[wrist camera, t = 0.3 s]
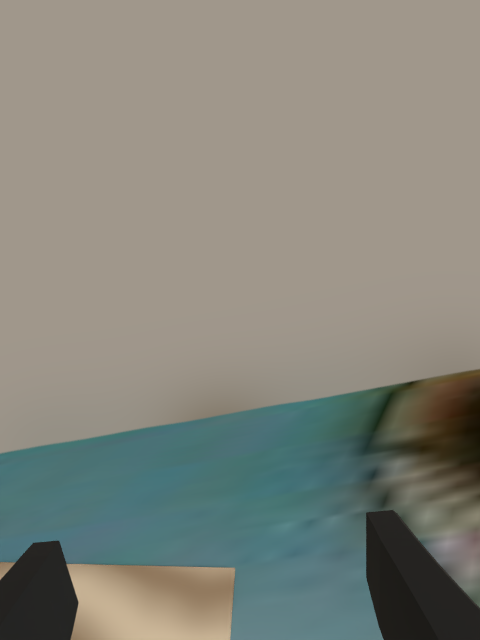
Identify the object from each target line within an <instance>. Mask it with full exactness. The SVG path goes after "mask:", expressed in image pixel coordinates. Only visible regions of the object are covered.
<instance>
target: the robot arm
mask: <svg viewBox="0 0 480 640" xmlns="http://www.w3.org/2000/svg"><path fill="white" fill-rule="evenodd" d="M366 578H367V582H368V586H369V590H370V594H371V598H372V601H373V605H374V609H375V613H376V617H377V620H378V624H379V628H380V630H381V633H382V636H383V639H384V640H480V608H479V607H478V606H477V605H476V604H475V603H474V602H473V601H472V600H471V599H470V597H469V596H468V595H467V594H466V593H465V592H464V591H463V590H462V589H461V588H460V587H459V586H458V584H457V583H456V582H455V581H454V580H453V579H452V578H451V577H450V576H449V575H448V574H447V573H446V571H445V570H444V569H443V568H442V567H441V566H440V565H439V564H438V562H437V561H436V560H435V559H434V558H433V557H432V555H431V554H430V553H429V552H428V551H427V550H426V548H425V547H424V546H423V545H422V544H421V542H420V541H419V540H418V539H417V538H416V536H415V535H414V534H413V533H412V532H411V530H410V529H409V528H408V527H407V525H406V524H405V523H404V522H403V520H402V519H401V518H400V516H399V515H398V514H397V513H396V512H395V511H393V510H389V511H378V512H367V513H366ZM78 604H79V602H78V599H77V596H76V593H75V589H74V586H73V583H72V580H71V577H70V574H69V571H68V567H67V564H66V561H65V558H64V555H63V552H62V548H61V545H60V542H59V541H49V542H38V543H33V544H32V545H31V546H30V547H29V548H28V549H27V551H26V552H25V553H24V554H23V555H22V556H21V557H20V558H19V559H18V561H17V562H16V563H15V564H14V565H13V566H12V567H11V568H10V569H9V571H8V572H7V573H6V574H5V575H4V576H3V577H2V578H1V580H0V640H71V636H72V632H73V627H74V623H75V618H76V613H77V609H78Z"/></svg>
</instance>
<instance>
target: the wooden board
mask: <svg viewBox="0 0 480 640" xmlns="http://www.w3.org/2000/svg"><path fill="white" fill-rule="evenodd" d="M14 564H15V563H7V562H0V580H1V578H2V577H3V576H4V575H5V574H6V573H7V572H8V571H9V569H10V568H11V567H12V566H13V565H14ZM67 567H68V571H69V574H70V577H71V580H72V583H73V586H74V589H75V593H76V596H77V599H78V602H79V604H78V609H77V613H76V618H75V623H74V627H73V632H72V636H71V640H230V634H231V620H232V606H233V593H234V579H235V568H213V567H172V566H130V565H89V564H67Z"/></svg>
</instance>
